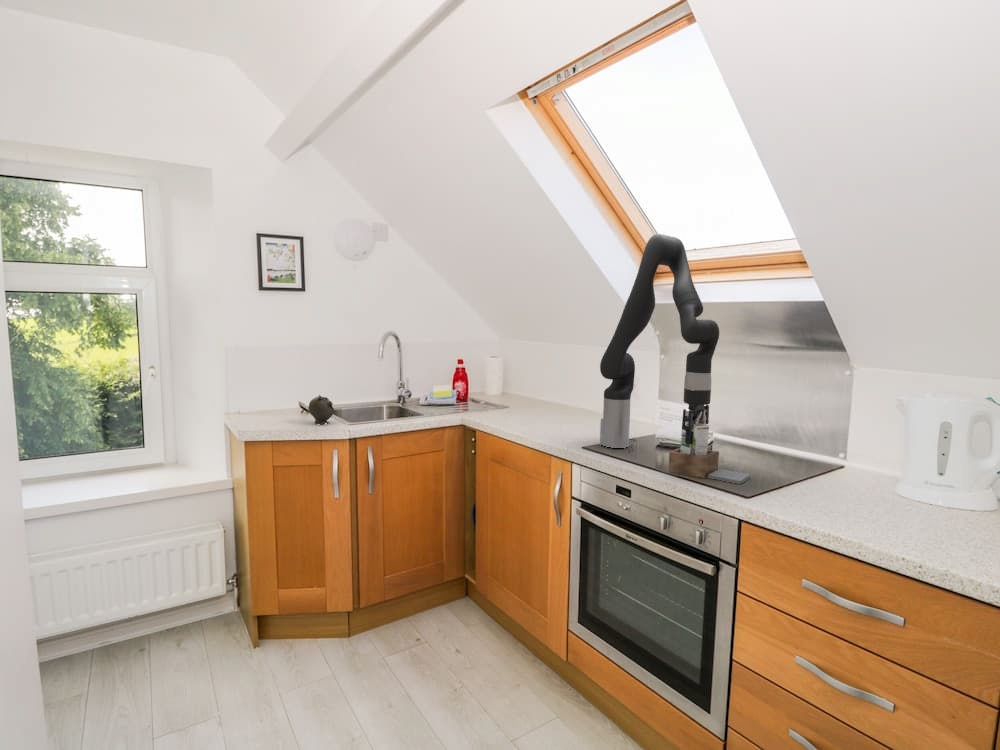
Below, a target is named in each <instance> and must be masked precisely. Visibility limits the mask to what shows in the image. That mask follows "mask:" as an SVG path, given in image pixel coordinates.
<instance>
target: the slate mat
mask: <svg viewBox="0 0 1000 750" xmlns="http://www.w3.org/2000/svg"><path fill="white" fill-rule="evenodd" d="M709 478H711V479H710V480H714V479H717V480H716V481H719V480H721V481H720V482H724V481H726V483H729V482H732V483H731V484H735V483H736V484H737V485H742V484H743V483H745V482H746V481H748V480H749V479H751V474H750V473H745V472H739V471H733V470H729V469H728V470H727V469H722V468H718V470H716V471H714V472H712V473H710V474H708V477H707V479H709ZM741 483H742V484H741Z"/></svg>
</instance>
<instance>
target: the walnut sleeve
mask: <svg viewBox="0 0 1000 750" xmlns="http://www.w3.org/2000/svg"><path fill="white" fill-rule="evenodd" d="M680 450H681V446H680V447H677V448H675V449H673V450H670V451H668V452H669V457H668V472H669V471H671V472H670V473H674V472H676V473H675V474H679V473H681V474H680V475H684V474H685V476H689V475H691V477H694V476H696V477H695V478H699V477H702V478H701V479H706V478H708V474H710V473H712V472H714V471H716V470H718V469H719V457H720V451H719V450H712V449H707V455H705V456H697V455H691V454H685V453H680ZM705 477H706V478H705Z"/></svg>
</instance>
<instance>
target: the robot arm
mask: <svg viewBox="0 0 1000 750" xmlns="http://www.w3.org/2000/svg"><path fill="white" fill-rule="evenodd" d="M688 261H689V260H688V257H687V252H686V248H685V245H684V243H683V242H682V240H681V239H679V238H678V237H675V236H670V235H667V234H661V233H655V234H653V235H652V236H651V237H650V238H649V239H648V241H647V242H646V245H645V247H644V250H643V253H642V257H641V260H640V264H639V267H638V269H637V270H638V271H637V273H636V276H635V277H636V278H635V280H634V281H633V282H634V283H633V286H632V288H631V291H630V293H629V296H628V298H627V300H626V302H625V305H624V308H623V310H622V314H621V317H620V318H619V322H618V324H617V326H616V327H615V328H616V329H615V332H614V333H613V336H612V338H611V340H610V342H609V344H608V346H607V348H606V350H605V351H604V354H603V356H602V358H601V361H600V364H599V370H600V374H601V376H602V377H603V378H604V379H606V380H612V381H611V383H610V384H609V386H608V387H606V389H605V390H604V391H603V411H602V412H603V413H602V416H603V417H602V418H601V419H600V430H599V446H601V445H603V446H602V447H604V446H606V447H605V448H607V447H611V448H610V449H612V448H624V449H627V448H626V447H628V446H630V445H629V444H630V426H631V425H630V422H631V421H630V420H631V419H630V418H631V397H632V396H631V395H632V393H633V390H634V384H635V372H636V365H635V361H634V360H635V359H634V358H633V356H632V355H631V354H630V353H629V352H628V350H629V348H630V346H631V345H632V344H633V342H634V341H635V340H636V339H637V338H638V337H639V335H641V334H642V332H643V331H644V330H645V328H647V326H648V325H649V322H650V320H651V318H652V315H653V312H654V310H655V309H656V294H655V289H654V280H655V276H656V273H657V270H658V268H659V266H665V267H668V268H669V270H670V271H671V273H672V275H673V285H672V291H671V292H672V293H671V294H672V298H673V302H674V304H675V307H676V309H677V311H678V314H679V323H680V324H679V326H680V334H681V337H682V338H683V340H684V341H685V342H686V343H687V344H691V345H697V344H698V348H697V349H696V350H695V351H691V352H688V354H687V356H686V360H685V361H686V362H685V363H686V364H685V375H684V382H683V384H684V386H683V403H685V404H687V405H688V407H687V409H685V408H684V409H682V423H681V430H682V429H683V430H685V431H686V434H685V443H686V444H693V440H694V432H693V431H694V429H695V426H696V425H698V423H701V424H704V425H709V422H710V419H709V417H710V404H711V396H712V362H713V361H712V360H713V355H714V353H715V351H716V348H717V345H718V341H719V339H720V327H719V325H718V323H717V322H716V321H715V320H713V319H697V318H698V317H699V316H701V315H702V314H703V312H704V306H703V303H702V301H701V298H700V296H699V293H698V292H697V289H696V286H695V284H694V281H693V278H692V274H691V271H690V270H691V269H690V266H689V262H688ZM685 423H686V425H685ZM628 448H629V447H628Z"/></svg>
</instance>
